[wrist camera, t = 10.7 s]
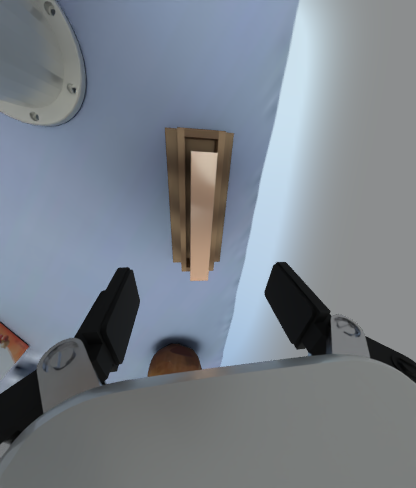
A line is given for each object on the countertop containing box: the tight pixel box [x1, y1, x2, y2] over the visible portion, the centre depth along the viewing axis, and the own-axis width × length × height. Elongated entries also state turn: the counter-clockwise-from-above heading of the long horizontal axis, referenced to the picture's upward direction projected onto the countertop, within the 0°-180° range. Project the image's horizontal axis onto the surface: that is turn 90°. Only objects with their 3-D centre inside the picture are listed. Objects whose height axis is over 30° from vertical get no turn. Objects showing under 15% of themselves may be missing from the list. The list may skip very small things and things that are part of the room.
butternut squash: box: [148, 344, 202, 377], centre depth 36 cm, size 14×13×25 cm
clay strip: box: [190, 151, 218, 281], centre depth 22 cm, size 16×2×8 cm, turn 176°
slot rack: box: [165, 127, 234, 271], centre depth 25 cm, size 21×9×4 cm, turn 177°
